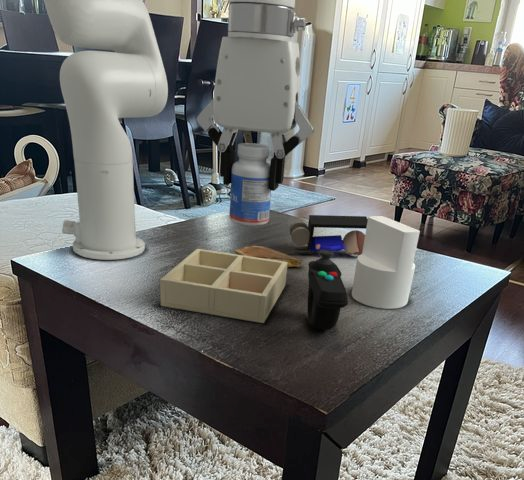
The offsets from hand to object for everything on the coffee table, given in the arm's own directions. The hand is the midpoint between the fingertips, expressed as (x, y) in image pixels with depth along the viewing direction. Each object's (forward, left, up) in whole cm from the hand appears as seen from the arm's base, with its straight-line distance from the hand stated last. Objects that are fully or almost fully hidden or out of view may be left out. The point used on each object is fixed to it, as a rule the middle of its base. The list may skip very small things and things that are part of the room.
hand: (251, 184), depth 70 cm
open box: (-4, +4, -18) cm, 19 cm away
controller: (+12, -3, -18) cm, 22 cm away
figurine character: (+8, +32, -18) cm, 37 cm away
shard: (-2, +23, -18) cm, 29 cm away
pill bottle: (0, 0, -5) cm, 5 cm away
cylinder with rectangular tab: (+19, +13, -18) cm, 29 cm away
